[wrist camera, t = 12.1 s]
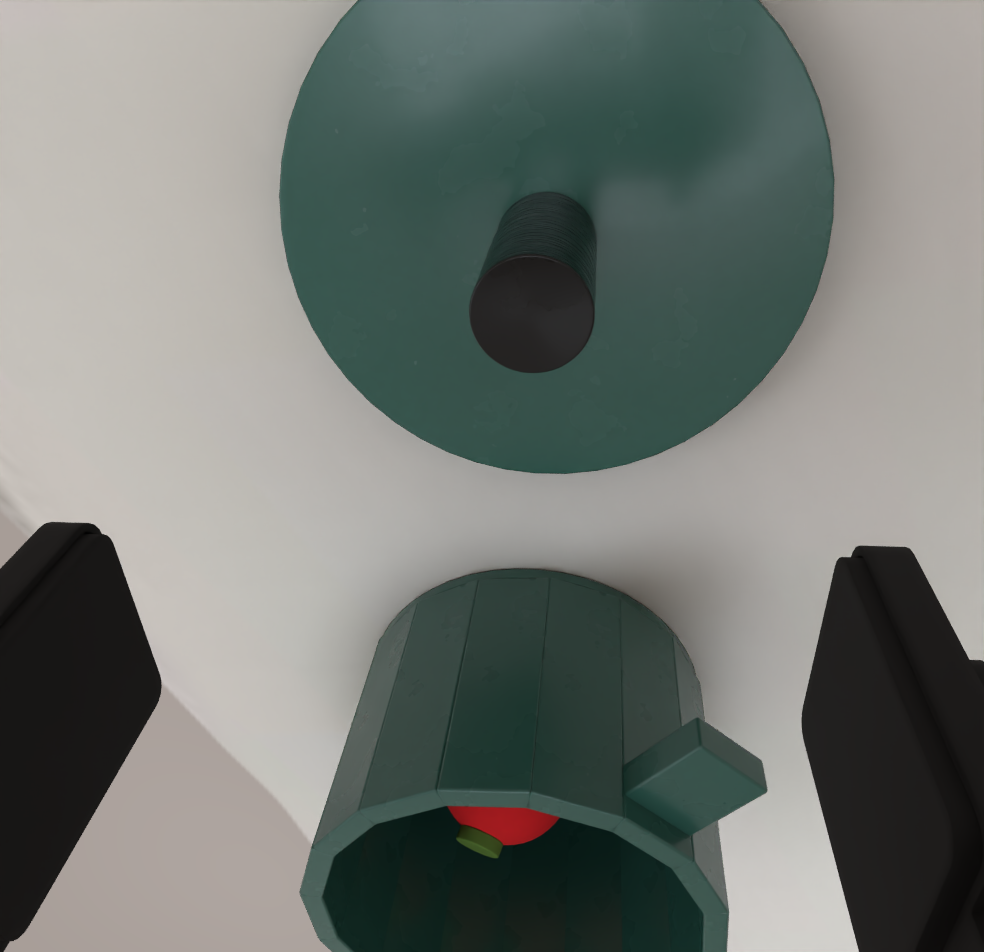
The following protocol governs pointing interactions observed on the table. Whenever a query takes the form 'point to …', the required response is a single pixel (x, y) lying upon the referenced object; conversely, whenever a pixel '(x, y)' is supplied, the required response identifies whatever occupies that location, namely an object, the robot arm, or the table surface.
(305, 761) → the table surface
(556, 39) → the lid
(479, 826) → the berry
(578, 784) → the pot
